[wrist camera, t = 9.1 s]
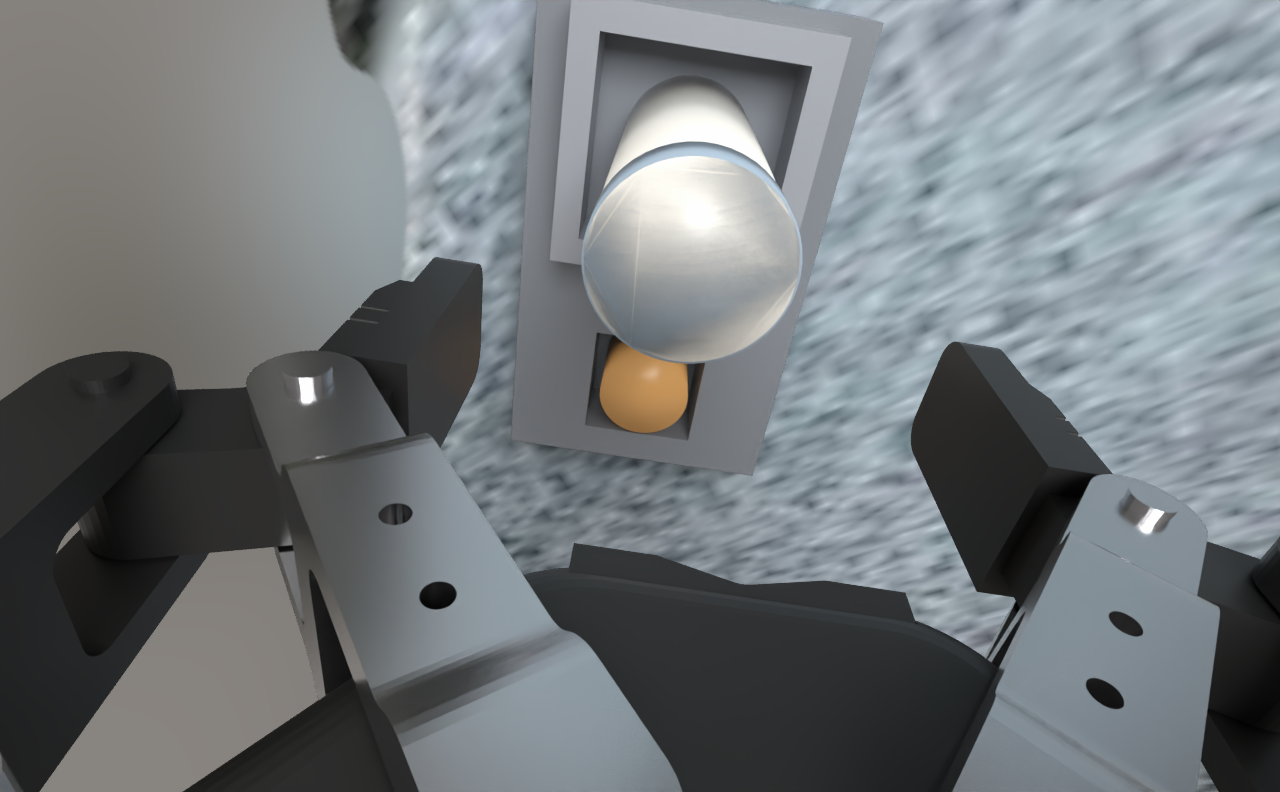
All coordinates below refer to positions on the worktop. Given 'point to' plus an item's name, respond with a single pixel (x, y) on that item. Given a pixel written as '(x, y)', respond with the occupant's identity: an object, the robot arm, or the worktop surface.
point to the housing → (580, 163)
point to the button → (642, 389)
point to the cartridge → (690, 230)
